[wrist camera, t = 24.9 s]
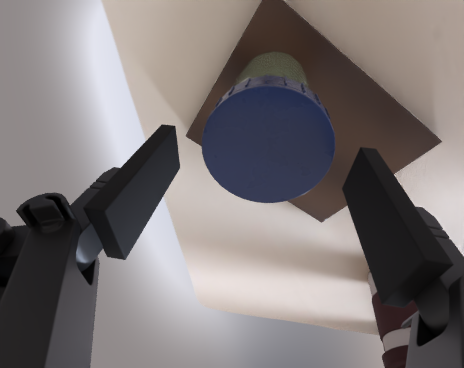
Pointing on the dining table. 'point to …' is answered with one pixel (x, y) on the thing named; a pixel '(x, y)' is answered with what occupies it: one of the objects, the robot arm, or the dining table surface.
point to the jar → (274, 68)
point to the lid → (268, 140)
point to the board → (326, 102)
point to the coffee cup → (392, 328)
